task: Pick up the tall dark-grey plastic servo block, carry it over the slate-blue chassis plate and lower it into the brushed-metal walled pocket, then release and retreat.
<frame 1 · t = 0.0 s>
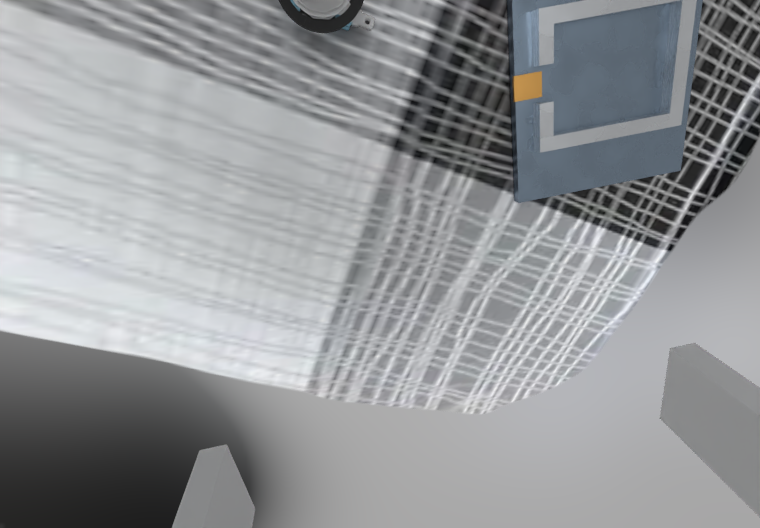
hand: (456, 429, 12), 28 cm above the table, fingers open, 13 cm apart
push button: (331, 11, 32), on the table
chassis: (598, 72, 36), on the table
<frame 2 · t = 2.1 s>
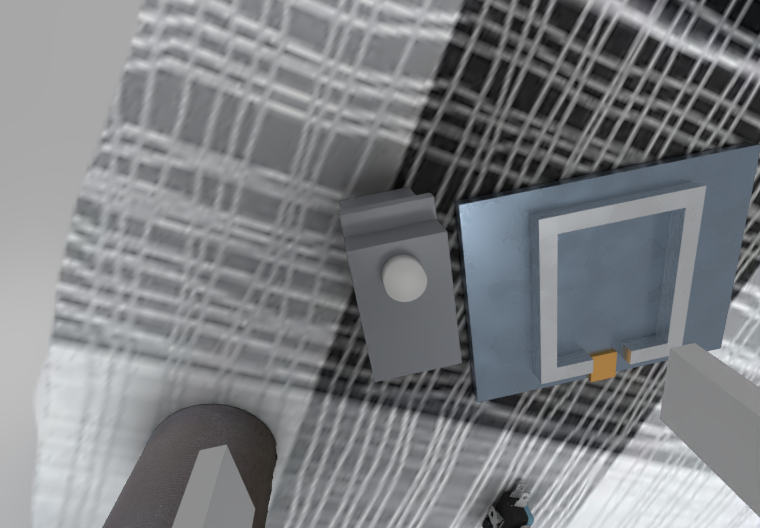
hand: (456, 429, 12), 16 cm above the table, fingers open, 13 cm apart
push button: (505, 502, 39), on the table
pillar candle: (213, 448, 32), on the table
chassis: (597, 279, 30), on the table
servo: (383, 245, 27), on the table
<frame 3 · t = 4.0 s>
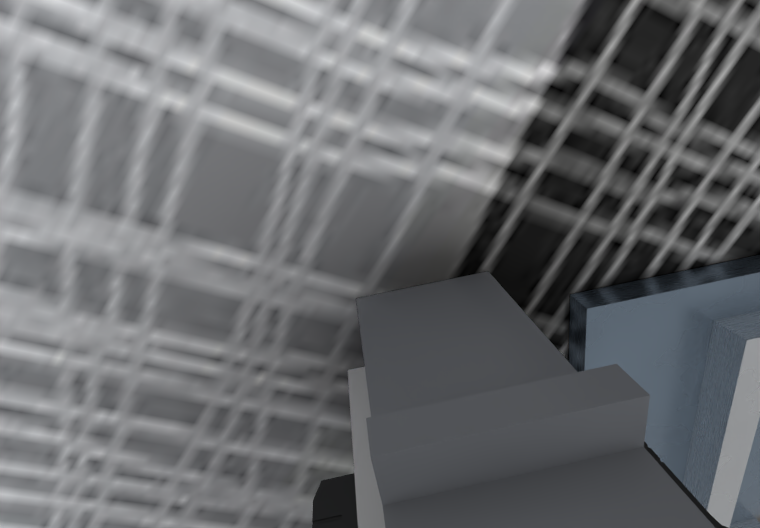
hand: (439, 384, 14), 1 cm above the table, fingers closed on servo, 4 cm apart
servo: (434, 370, 15), on the table, touching gripper
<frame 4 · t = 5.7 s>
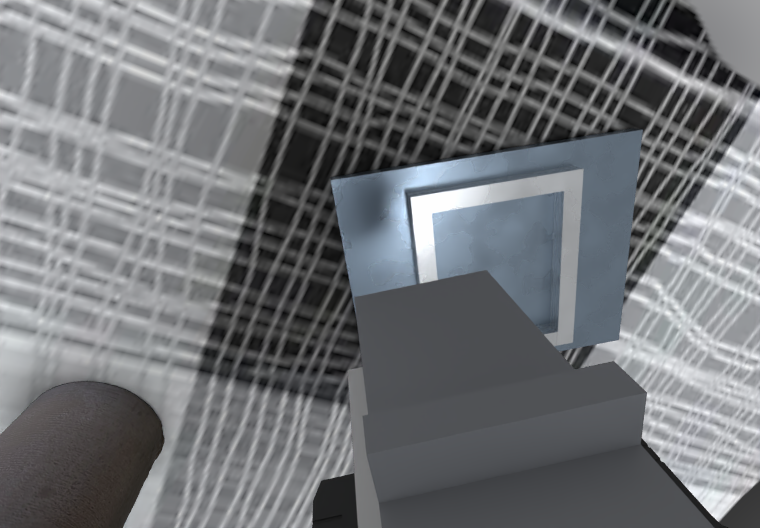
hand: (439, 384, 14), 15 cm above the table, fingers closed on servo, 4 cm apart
pillar candle: (96, 429, 31), on the table
chassis: (488, 265, 29), on the table
servo: (433, 369, 15), point 14 cm above the table, touching gripper
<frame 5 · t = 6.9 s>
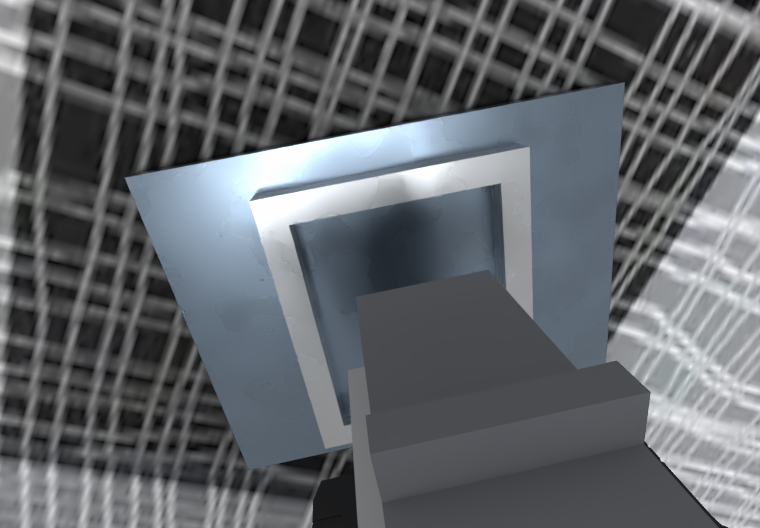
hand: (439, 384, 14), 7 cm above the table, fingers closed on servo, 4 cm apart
chassis: (405, 294, 20), on the table
servo: (434, 369, 15), point 6 cm above the table, touching gripper
when the fingers open (4 cm above the table, at t = 7.7 s): servo drops 2 cm, resting on chassis.
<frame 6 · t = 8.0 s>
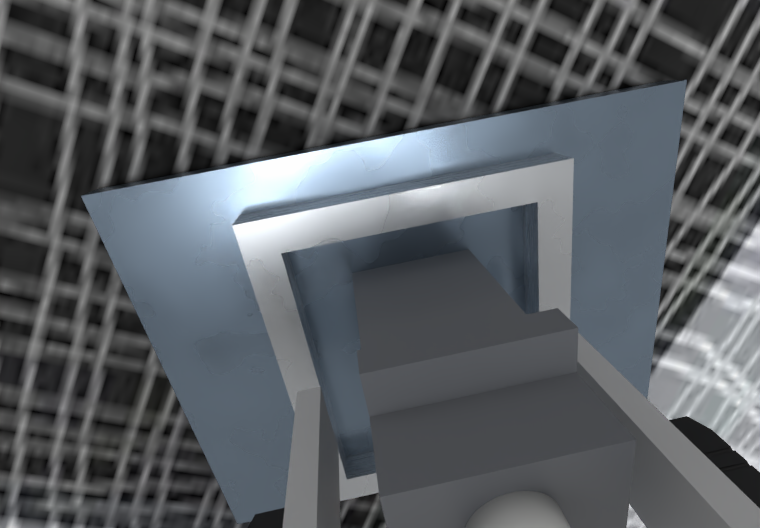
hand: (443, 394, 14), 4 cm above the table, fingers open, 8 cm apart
chassis: (418, 327, 17), on the table
servo: (422, 339, 16), point 1 cm above the table, touching chassis
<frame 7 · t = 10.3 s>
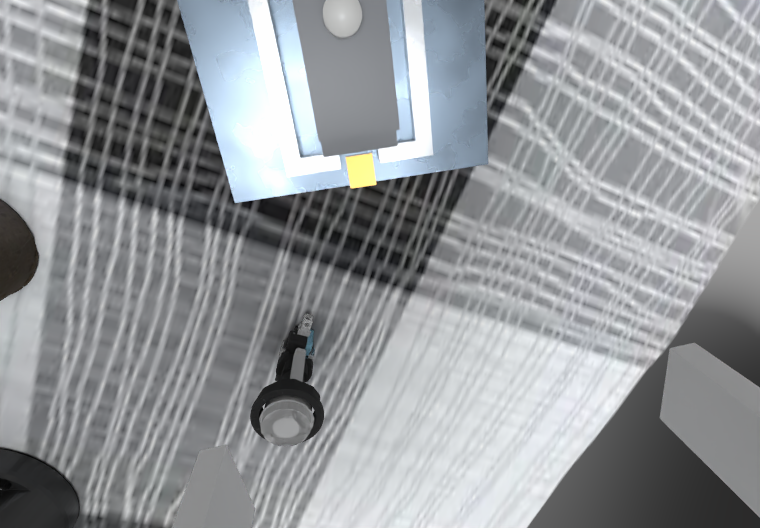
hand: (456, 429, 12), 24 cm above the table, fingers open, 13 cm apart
push button: (300, 340, 38), on the table
chassis: (345, 71, 30), on the table
servo: (345, 70, 29), point 1 cm above the table, touching chassis
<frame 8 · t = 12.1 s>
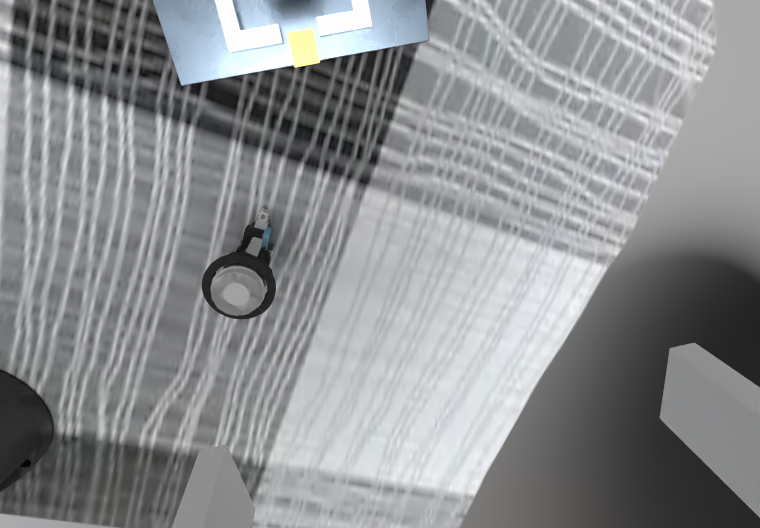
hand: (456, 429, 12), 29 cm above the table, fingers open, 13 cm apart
push button: (259, 239, 39), on the table
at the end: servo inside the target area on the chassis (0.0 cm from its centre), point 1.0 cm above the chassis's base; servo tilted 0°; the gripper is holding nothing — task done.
